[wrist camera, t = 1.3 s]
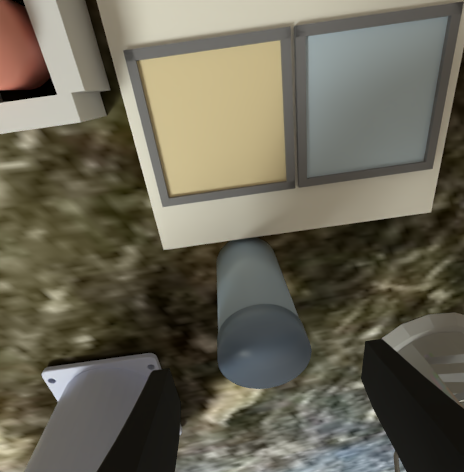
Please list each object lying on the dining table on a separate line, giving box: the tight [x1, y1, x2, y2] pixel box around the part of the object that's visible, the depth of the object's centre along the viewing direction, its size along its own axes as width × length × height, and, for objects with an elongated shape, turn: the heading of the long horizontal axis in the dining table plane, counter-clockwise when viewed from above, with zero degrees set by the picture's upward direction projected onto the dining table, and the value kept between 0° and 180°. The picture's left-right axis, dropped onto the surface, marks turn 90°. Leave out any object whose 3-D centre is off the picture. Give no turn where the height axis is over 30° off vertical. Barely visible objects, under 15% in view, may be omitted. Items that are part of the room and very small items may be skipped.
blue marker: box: [217, 237, 311, 389], centre depth 15 cm, size 4×4×7 cm
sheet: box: [96, 0, 464, 250], centre depth 14 cm, size 12×15×1 cm
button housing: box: [0, 0, 110, 134], centre depth 11 cm, size 6×6×3 cm
